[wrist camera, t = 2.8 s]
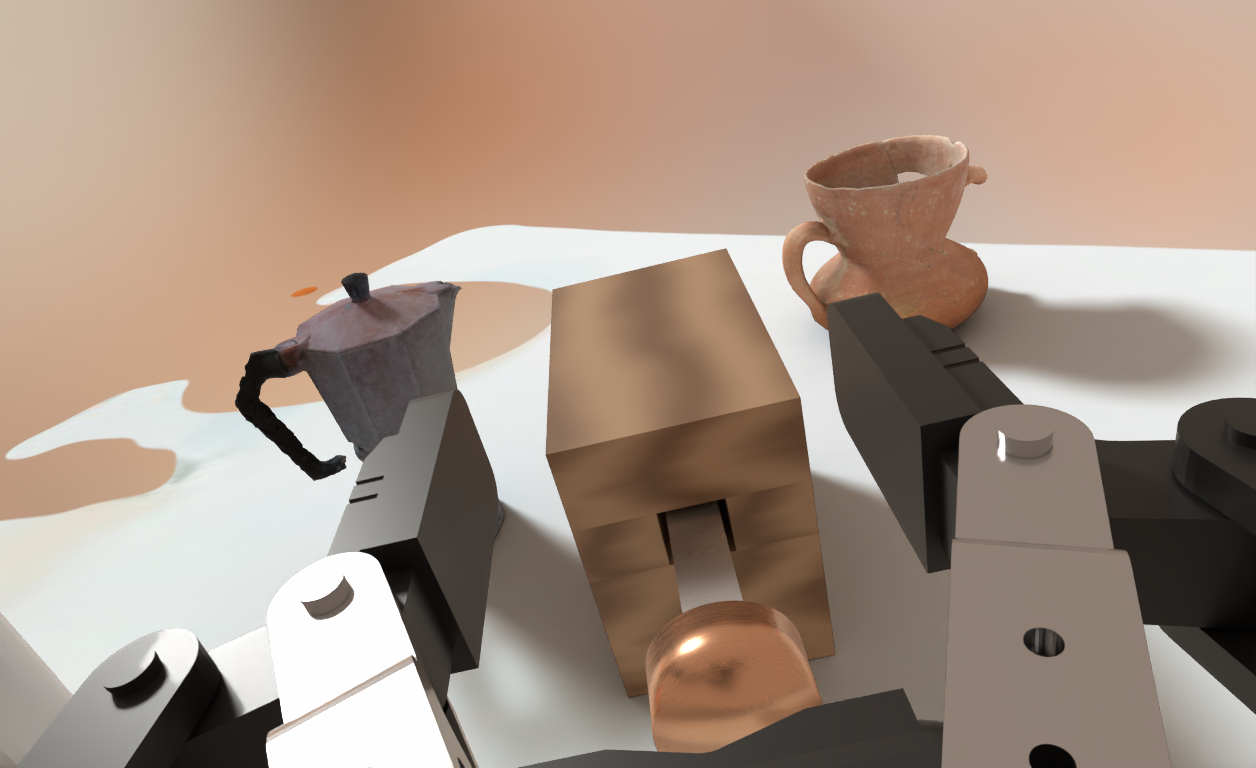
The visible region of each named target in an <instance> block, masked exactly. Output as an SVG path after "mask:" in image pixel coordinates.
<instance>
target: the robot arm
mask: <svg viewBox="0 0 1256 768" xmlns="http://www.w3.org/2000/svg"><path fill="white" fill-rule="evenodd" d="M827 320H828V330H829V339H830V348H831V357H832V366H833V375H834V384H835V392H836V398H837V403H838V407H839V411H840V414H841V417H842V420H843V423H844V425H845V427H846V429H847V431H848V433H849V435H850V437H851V438H852V440H853V442H854V444H855V446H856V447H857V449H858V451H859V453H860V454H861V456H862V458H863V460H864V462H865V463H866V465H867V467H868V469H869V470H870V472H871V474H872V476H873V477H874V479H875V481H876V483H877V485H878V486H879V488H880V490H881V492H882V493H883V495H884V497H885V499H886V501H887V502H888V504H889V506H890V508H891V509H892V511H893V513H894V515H895V517H896V518H897V520H898V522H899V524H900V525H901V527H902V529H903V531H904V533H905V534H906V536H907V538H908V540H909V541H910V543H911V545H912V547H913V548H914V550H915V552H916V554H917V556H918V557H919V559H920V561H921V563H922V564H923V566H924V568H925V570H926V572H927V573H933V572H937V571H942V570H947V569H951V573H950V595H949V616H948V638H947V659H946V681H945V702H944V722H941V721H934V720H917V719H916V717H915V714H914V712H913V710H912V708H911V705H910V703H909V701H908V699H907V696H906V694H905V692H904V690H903V688H902V689H897V690H892V691H888V692H883V693H878V694H873V695H868V696H863V697H859V698H854V699H849V700H844V701H839V702H834V703H829V704H825V705H820V706H815V707H810V708H805V709H803V710H801V711H799V712H796V713H794V714H792V715H790V716H788V717H786V718H784V719H782V720H779V721H777V722H775V723H773V724H771V725H769V726H767V727H764V728H762V729H760V730H758V731H756V732H754V733H752V734H750V735H747V736H745V737H743V738H741V739H739V740H737V741H735V742H733V743H730V744H728V745H726V746H724V747H722V748H720V749H717V750H715V751H712V752H707V753H680V752H654V751H628V750H602V751H597V752H592V753H587V754H582V755H577V756H572V757H568V758H563V759H558V760H553V761H548V762H543V763H539V764H534V765H529V766H524V767H519V768H1171V763H1170V758H1169V753H1168V748H1167V743H1166V738H1165V733H1164V728H1163V723H1162V718H1161V713H1160V707H1159V702H1158V697H1157V692H1156V687H1155V682H1154V677H1153V672H1152V667H1151V662H1150V657H1149V652H1148V647H1147V642H1146V637H1145V631H1144V626H1143V624H1146V625H1159V626H1160V628H1161V629H1162V630H1163V631H1164V632H1165V633H1166V634H1167V635H1168V636H1169V637H1170V638H1171V639H1172V640H1173V641H1174V642H1175V643H1176V644H1178V645H1179V646H1180V647H1181V648H1182V649H1183V650H1184V651H1185V652H1187V653H1188V654H1189V655H1190V656H1191V657H1192V658H1193V659H1194V660H1195V661H1197V662H1198V663H1199V664H1200V665H1201V666H1202V667H1203V668H1204V669H1206V670H1207V671H1208V672H1209V673H1210V674H1211V675H1212V676H1213V677H1214V678H1216V679H1217V680H1218V681H1219V682H1220V683H1221V684H1222V685H1223V686H1225V687H1226V688H1227V689H1228V690H1229V691H1230V692H1231V693H1232V694H1233V695H1235V696H1236V697H1237V698H1238V699H1239V700H1240V701H1241V702H1242V703H1244V704H1245V705H1246V706H1247V707H1248V708H1249V709H1250V710H1251V711H1252V712H1254V713H1255V714H1256V398H1224V399H1217V400H1211V401H1208V402H1204V403H1201V404H1198V405H1196V406H1194V407H1192V408H1190V409H1189V410H1187V411H1186V412H1185V413H1184V414H1183V415H1182V416H1181V417H1180V419H1179V422H1178V427H1177V434H1176V440H1156V441H1105V440H1095V439H1094V437H1093V434H1092V432H1091V431H1090V429H1089V428H1088V427H1087V426H1086V425H1085V424H1084V423H1083V422H1082V421H1080V420H1079V419H1077V418H1075V417H1074V416H1072V415H1070V414H1068V413H1065V412H1062V411H1060V410H1057V409H1053V408H1049V407H1044V406H1037V405H1024V404H1023V403H1022V402H1021V401H1020V400H1019V399H1018V398H1017V397H1016V396H1015V395H1014V394H1013V393H1012V392H1011V391H1010V390H1009V389H1008V388H1007V387H1006V385H1005V384H1004V383H1003V382H1002V381H1001V380H1000V379H999V378H998V377H997V376H996V375H995V374H994V373H993V372H992V371H991V370H990V369H989V368H988V367H987V366H986V365H985V364H984V363H983V362H980V361H979V358H978V357H977V356H976V355H975V354H974V353H973V351H972V350H971V349H970V348H969V347H965V343H964V342H963V341H962V340H961V339H960V338H959V337H958V336H957V335H956V334H955V333H954V332H953V331H952V330H951V329H950V328H949V327H948V326H946V325H944V324H941V323H939V322H936V321H934V320H931V319H929V318H927V317H924V316H922V315H916V316H912V317H908V318H903V319H902V318H901V317H900V316H899V315H898V314H897V313H896V311H895V310H894V309H893V308H892V307H891V306H890V305H889V303H888V302H887V301H886V300H885V299H884V298H883V296H882V295H881V294H880V293H878V292H875V293H871V294H867V295H862V296H858V297H854V298H849V299H845V300H841V301H837V302H832V303H829V304H828V308H827ZM356 484H357V486H354V488H353V490H352V493H351V496H350V498H349V502H350V504H348V505H347V506H346V509H345V511H344V514H343V516H342V519H341V522H340V524H339V527H338V529H337V532H336V534H335V537H334V540H333V542H332V545H331V547H330V550H329V553H328V555H327V558H325V559H323V560H321V561H318V562H316V563H314V564H313V565H311V566H309V567H307V568H306V569H304V570H303V571H301V572H300V573H298V574H297V575H296V576H294V577H293V578H292V579H291V580H290V581H289V582H288V583H287V584H285V585H284V586H283V588H282V589H281V590H280V591H279V592H278V594H277V595H276V597H275V598H274V600H273V601H272V603H271V606H270V608H269V612H268V624H267V625H265V626H263V627H261V628H259V629H257V630H255V631H252V632H250V633H248V634H246V635H244V636H241V637H239V638H237V639H235V640H232V641H230V642H228V643H226V644H224V645H221V646H219V647H217V648H215V649H213V650H210V651H208V652H207V651H206V650H205V648H204V647H203V646H202V644H201V643H200V641H199V640H198V639H197V637H196V636H195V635H194V634H193V633H192V632H190V631H188V630H185V629H167V630H161V631H158V632H155V633H151V634H149V635H146V636H144V637H142V638H140V639H138V640H136V641H133V642H132V643H130V644H128V645H126V646H125V647H123V648H121V649H120V650H119V651H117V652H116V653H114V654H113V655H111V656H110V657H109V658H108V659H107V660H105V661H104V662H103V663H102V664H101V665H99V666H98V667H97V668H96V669H95V670H94V671H93V672H92V673H91V674H90V676H89V677H88V678H87V679H86V680H85V681H84V683H83V684H82V685H81V686H80V688H79V689H78V690H77V691H76V693H75V694H74V695H72V694H71V693H70V692H69V690H68V689H67V688H66V687H65V686H64V685H63V684H62V682H61V681H60V680H59V679H58V678H57V676H56V675H55V674H54V673H53V672H52V670H51V669H50V668H49V667H48V666H47V665H46V664H45V662H44V661H43V660H42V659H41V658H40V657H39V656H38V655H37V653H36V652H35V651H34V650H33V649H32V648H31V647H30V645H29V644H28V643H27V642H26V641H25V640H24V639H23V637H22V636H21V635H20V634H19V633H18V632H17V631H16V629H15V628H14V627H13V626H12V625H11V624H10V623H9V621H8V620H7V619H6V618H5V617H4V616H3V615H2V613H1V612H0V768H479V767H478V765H477V763H476V760H475V758H474V755H473V753H472V751H471V748H470V746H469V744H468V741H467V739H466V736H465V734H464V732H463V729H462V727H461V725H460V722H459V720H458V717H457V715H456V713H455V710H454V708H453V706H452V704H451V702H450V700H449V698H448V696H447V692H448V685H449V679H450V674H453V673H457V672H462V671H467V670H471V669H476V668H478V667H479V659H480V651H481V643H482V634H483V626H484V618H485V610H486V601H487V593H488V585H489V577H490V568H491V560H492V552H493V544H494V536H495V527H496V519H497V511H498V494H497V487H496V482H495V478H494V474H493V470H492V468H491V465H490V462H489V460H488V457H487V455H486V452H485V449H484V447H483V444H482V442H481V439H480V436H479V434H478V431H477V429H476V426H475V424H474V421H473V418H472V416H471V413H470V411H469V408H468V405H467V403H466V401H465V399H464V397H463V395H462V393H461V392H460V391H459V390H452V391H447V392H443V393H439V394H435V395H430V396H426V397H422V398H417V399H413V400H411V401H410V402H409V404H408V407H407V410H406V413H405V416H404V419H403V422H402V425H401V428H400V430H399V433H398V435H393V436H389V437H385V438H384V439H383V440H382V441H381V442H380V443H379V444H378V445H377V446H376V448H375V449H374V450H373V451H372V452H371V453H370V454H369V455H368V456H367V457H366V458H365V460H364V462H363V465H362V467H361V470H360V472H359V475H358V478H357V480H356Z"/></svg>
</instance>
